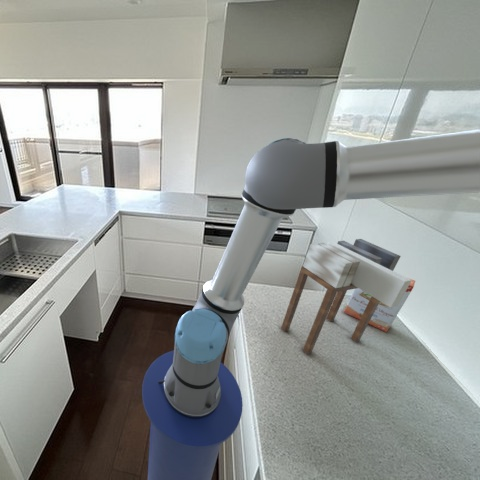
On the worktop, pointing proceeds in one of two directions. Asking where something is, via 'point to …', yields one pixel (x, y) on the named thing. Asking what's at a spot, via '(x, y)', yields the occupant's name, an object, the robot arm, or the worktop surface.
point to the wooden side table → (336, 283)
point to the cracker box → (382, 313)
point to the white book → (376, 279)
